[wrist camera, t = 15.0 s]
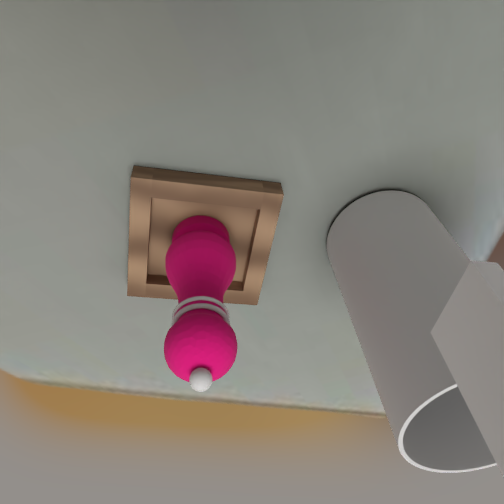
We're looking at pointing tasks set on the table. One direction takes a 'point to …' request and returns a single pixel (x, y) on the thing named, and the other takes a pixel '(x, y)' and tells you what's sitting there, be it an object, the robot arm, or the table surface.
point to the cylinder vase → (407, 323)
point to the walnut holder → (199, 204)
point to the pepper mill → (200, 302)
